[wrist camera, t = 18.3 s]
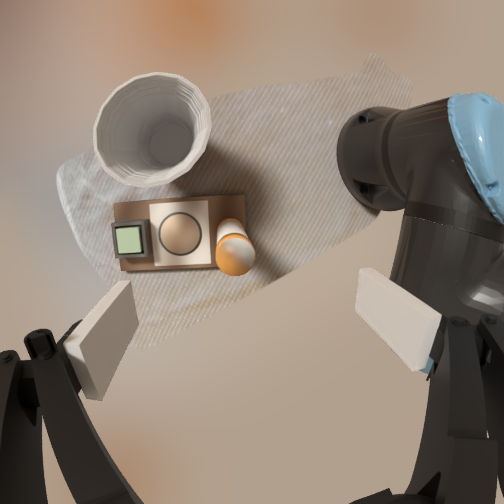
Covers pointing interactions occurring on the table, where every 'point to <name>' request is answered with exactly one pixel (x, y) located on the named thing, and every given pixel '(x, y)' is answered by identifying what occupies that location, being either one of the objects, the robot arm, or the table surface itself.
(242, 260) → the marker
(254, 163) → the table surface
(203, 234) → the board
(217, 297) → the table surface
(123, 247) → the button
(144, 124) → the plastic cup
